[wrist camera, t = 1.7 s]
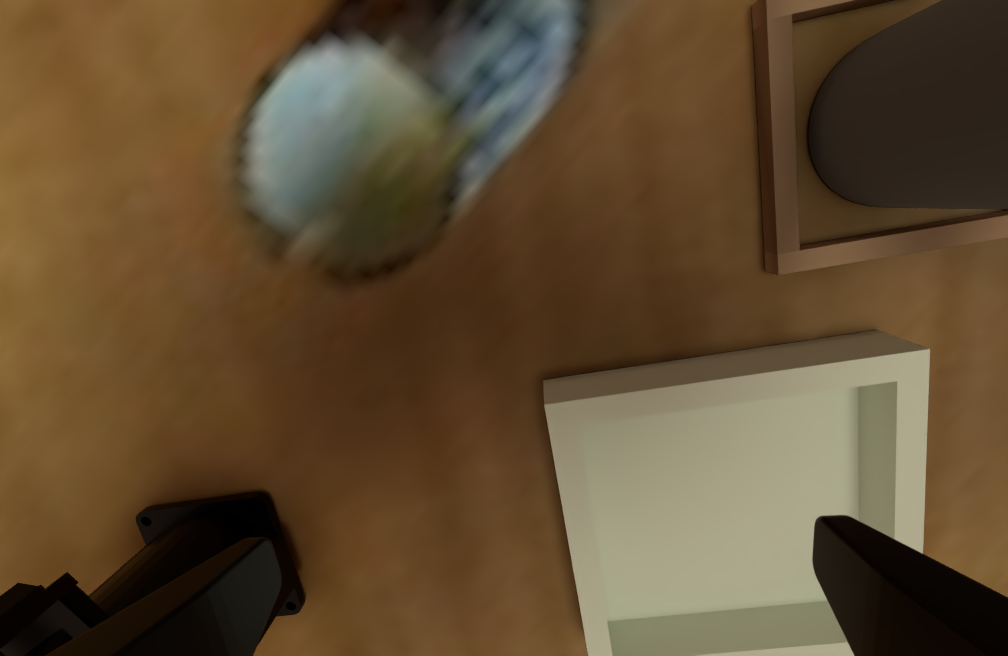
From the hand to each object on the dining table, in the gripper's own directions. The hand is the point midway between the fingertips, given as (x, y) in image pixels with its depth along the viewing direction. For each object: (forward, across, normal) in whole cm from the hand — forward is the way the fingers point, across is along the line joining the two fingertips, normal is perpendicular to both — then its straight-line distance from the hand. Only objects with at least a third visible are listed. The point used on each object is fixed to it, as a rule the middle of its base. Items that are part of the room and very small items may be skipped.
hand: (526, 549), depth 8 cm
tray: (+12, -7, +8) cm, 16 cm away
